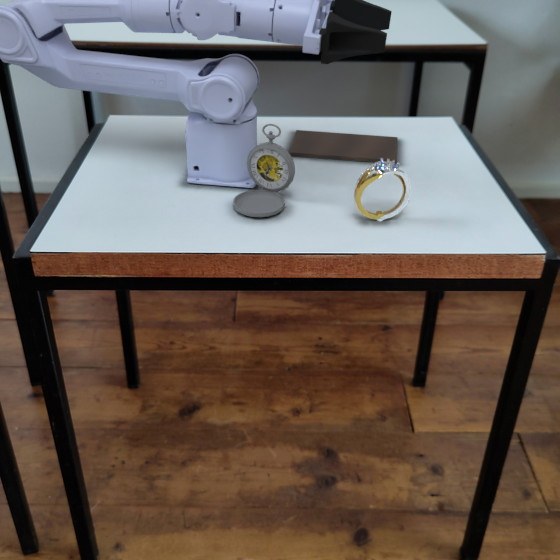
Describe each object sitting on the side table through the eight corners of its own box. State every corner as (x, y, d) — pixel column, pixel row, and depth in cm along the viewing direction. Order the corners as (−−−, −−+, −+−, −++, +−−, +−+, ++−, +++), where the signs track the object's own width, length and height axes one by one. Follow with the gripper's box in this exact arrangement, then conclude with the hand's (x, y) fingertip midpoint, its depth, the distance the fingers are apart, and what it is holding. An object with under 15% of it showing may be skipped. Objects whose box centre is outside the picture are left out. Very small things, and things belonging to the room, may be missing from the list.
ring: (403, 212, 89) (410, 154, 84) (409, 225, 86) (417, 165, 82) (349, 214, 88) (354, 156, 84) (354, 226, 86) (359, 167, 81)
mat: (288, 155, 103) (288, 152, 103) (296, 133, 111) (296, 129, 110) (396, 164, 101) (397, 160, 101) (397, 140, 109) (397, 137, 109)
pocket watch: (236, 221, 86) (234, 146, 81) (229, 191, 93) (227, 120, 88) (300, 217, 87) (303, 143, 82) (289, 188, 94) (291, 117, 89)
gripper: (266, 3, 77) (388, 18, 75) (289, -34, 87) (397, -22, 86) (264, 65, 81) (379, 79, 80) (286, 22, 92) (388, 34, 91)
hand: (388, 31), depth 83 cm, fingers open, 7 cm apart
